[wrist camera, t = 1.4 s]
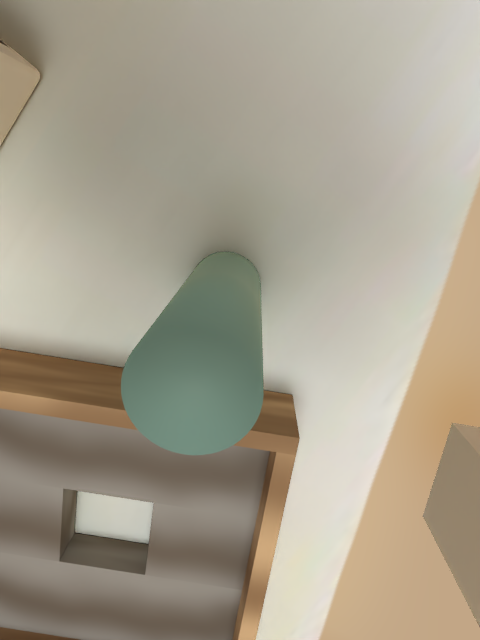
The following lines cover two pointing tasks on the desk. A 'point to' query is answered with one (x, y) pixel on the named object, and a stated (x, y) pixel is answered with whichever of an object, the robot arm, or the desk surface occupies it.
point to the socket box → (138, 484)
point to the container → (14, 86)
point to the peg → (201, 362)
